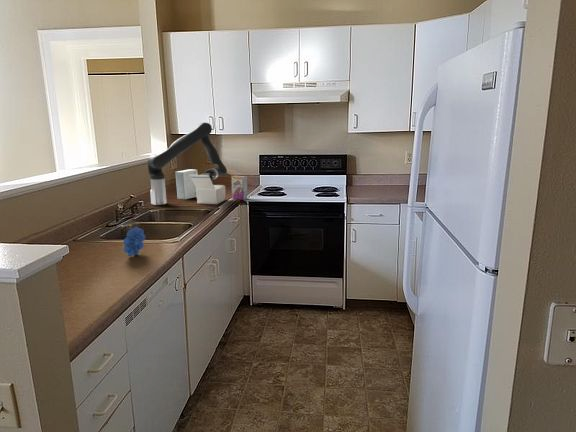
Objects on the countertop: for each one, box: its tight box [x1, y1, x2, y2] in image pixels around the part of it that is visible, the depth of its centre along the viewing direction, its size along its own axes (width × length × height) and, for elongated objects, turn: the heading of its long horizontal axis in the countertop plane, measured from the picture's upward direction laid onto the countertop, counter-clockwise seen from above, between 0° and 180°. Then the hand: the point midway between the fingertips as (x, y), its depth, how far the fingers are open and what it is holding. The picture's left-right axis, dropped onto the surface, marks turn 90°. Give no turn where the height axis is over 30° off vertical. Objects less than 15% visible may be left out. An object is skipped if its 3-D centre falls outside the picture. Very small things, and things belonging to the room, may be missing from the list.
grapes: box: [123, 226, 146, 257], centre depth 177 cm, size 12×7×12 cm, turn 154°
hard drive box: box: [174, 168, 199, 200], centre depth 306 cm, size 16×8×20 cm, turn 149°
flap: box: [190, 174, 215, 189], centre depth 276 cm, size 1×13×14 cm
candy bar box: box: [230, 175, 249, 201], centre depth 300 cm, size 11×5×16 cm, turn 57°
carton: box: [195, 184, 226, 205], centre depth 292 cm, size 17×16×10 cm
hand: (201, 178), depth 274 cm, fingers closed
